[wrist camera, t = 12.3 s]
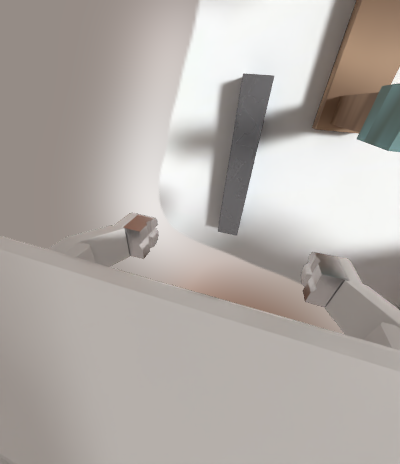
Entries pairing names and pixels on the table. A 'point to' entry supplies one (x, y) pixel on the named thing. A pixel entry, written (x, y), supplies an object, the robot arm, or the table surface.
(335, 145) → the table surface
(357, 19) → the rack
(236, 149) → the rail
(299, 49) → the table surface
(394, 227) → the table surface
